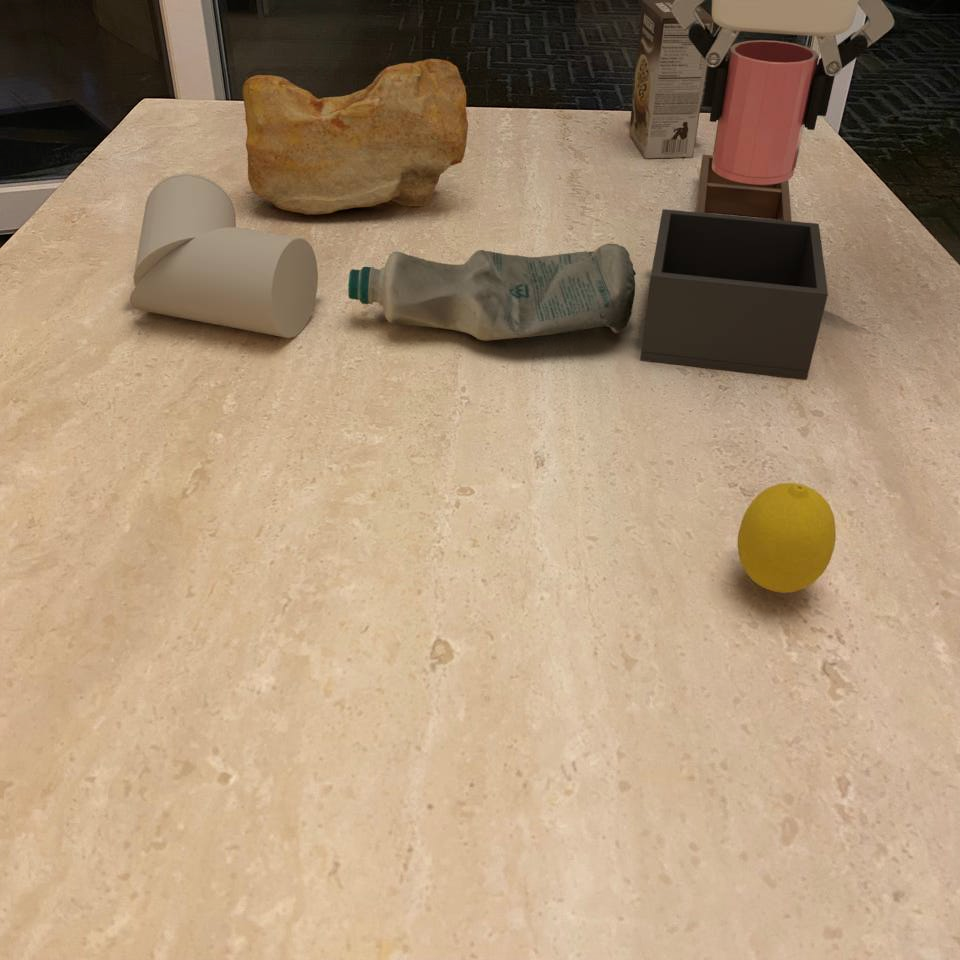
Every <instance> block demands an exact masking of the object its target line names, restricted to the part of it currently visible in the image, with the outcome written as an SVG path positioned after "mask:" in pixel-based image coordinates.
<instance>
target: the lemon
mask: <svg viewBox="0 0 960 960" xmlns="http://www.w3.org/2000/svg"><path fill="white" fill-rule="evenodd" d="M835 519H836V518H835V515H834V513H833V510H832V508H831V506H830V504H829V502H828V501H827V499H826V498H824V496H823V495H822V494H820V493H819V492H818V491H817V490H816V489H814V488H812V487H810V486H808V485H804V484H802V483H798V482H783V483H777V484H774V485H771V486H769V487H767V488H766V489H764V490H763V491H761V492H760V493H758V494H757V495H756V496H755V498H754V499H753V500H752V502H751V503H750V504H749V505H748V507H747V508H746V511H745V512H744V514H743V517H742V519H741V522H740V526H739V529H738V532H737V533H738V534H737V553H738V558H739V561H740V564H741V565H742V568H743V570H744V572H745V574H746V575H748V577H749V578H750V579H751V580H752V581H753V582H754V583H756V584H757V585H758V586H760V587H762V588H763V589H766V590H767V591H772V592H775V593H786V594H787V593H793V592H798V591H801V590H804V589H806V588H807V587H809V586H812V584H814V583H815V582H816V581H817V580H818V579H820V577H821V576H822V575H823V574H824V572H825V571H826V570H827V568H828V566H829V565H830V561H831V559H832V557H833V554H834V550H835V546H836V534H837V533H836V531H837V530H836V520H835Z"/></svg>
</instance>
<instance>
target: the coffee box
mask: <svg viewBox="0 0 960 960" xmlns="http://www.w3.org/2000/svg"><path fill="white" fill-rule="evenodd" d="M674 1H675V0H641V9H640V18H639V29H638V37H637V39H638V40H637V50H636V59H635V71H634V72H635V73H634V80H633V91H632V99H631V100H632V101H631V112H630V121H629V122H630V123H629V130H628V131H629V132H628V134H629V136H630V135H631V136H630V138H631V139H632V138H633V139H632V140H633V142H634V144H635V145H636V146H637V148H638V150H639V151H640V153H641V154H642V155H643V157H644V159H675V158H676V159H678V158H682V157H686V158H693V157H694V154H695V146H696V141H697V140H696V139H697V134H698V126H699V121H700V114H701V107H702V102H703V96H704V90H705V83H706V77H707V70H708V65H707V64H706V61H705V59H704V58H703V56H702V55H701V54H700V52H699V51H698V50H697V49H696V47H695V46H694V45H693V43H692V42H691V41H690V39H689V36H688V35H687V34H686V32H685V31H684V30H683V28H682V27H681V26H680V24H679V23H678V21H677V20H676V18H675V17H674V16H673V14H672V12H671V9H672V5H673V2H674ZM695 11H696V13H697V15H698V17H699V18H700V20H701V21H702V22H703V23H704V24H705V25H706V27H707V28H708V29H709V31H710V32H711V33H712V34H713V28H714V23H715V22H714V21H713V18H712V14H710V13H709V12H708V11H706V10H705V9H704V8H703V7H702V6H701V5H699V6H697V8H696V9H695Z"/></svg>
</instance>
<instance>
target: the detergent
mask: <svg viewBox="0 0 960 960" xmlns="http://www.w3.org/2000/svg"><path fill="white" fill-rule="evenodd" d="M630 255H631V254H630V252H629V251H628V250H627V248H626V247H625V246H623V245H619V244H618V243H605V244H603V245H601V246H599V247H598V248H596V249H595V250H594V251H585V250H584V251H576V252H569V253H559V254H551V255H544V256H542V255H541V256H530V257H529V256H525V255H518V254H517V255H516V254H505V253H502V252H501V253H500V252H496V251H490V250H483V249H479V250H476V251H475V252H474V253H472V254H471V255H470V257H469V258H468V259H467V260H466V261H465V262H464V263H461V264H451V263H443V262H437V261H433V260H427V259H425V258H421V257H416V256H413V255H409V254H407V253H404V252H401V251H397V250H396V251H391V253H389V255H388V258H387V260H386V262H385V265H384V266H383V267H381V268H380V269H378V268H375V267H374V266H362V268H361V269H354V268H352V269H351V270H350V271H349V275H348V285H347V287H348V288H347V293H348V294H347V295H348V298H349V299H351V300H355V301H359V302H360V303H361V304H363V305H373V303H378V304H379V305H380V306H381V307H382V310H383V314H384V317H385V319H386V320H387V322H388V323H390V324H392V325H393V326H394V325H395V326H412V327H424V328H425V327H426V328H437V329H444V330H453V331H458V332H462V333H465V334H467V335H471V336H472V337H474V338H476V340H480V341H486V342H487V341H495V340H507V339H515V338H516V339H517V338H518V339H522V338H529V337H538V336H548V335H555V334H556V335H557V334H562V333H567V332H568V333H569V332H574V331H581V330H587V329H594V328H602V327H607V328H610V330H611V331H612V332H613V333H614V334H618V333H620V332H622V330H624V329H625V328H627V326H628V324H629V321H630V318H631V316H632V311H633V306H634V300H635V295H636V278H635V276H636V274H637V273H636V271H635V269H634V263H633V261H632V260H631V257H630Z"/></svg>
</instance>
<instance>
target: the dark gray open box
mask: <svg viewBox="0 0 960 960" xmlns="http://www.w3.org/2000/svg"><path fill="white" fill-rule="evenodd" d="M661 210H662V211H661V217H660V221H659V228H658V234H657V239H656V245H655V250H654V254H653V255H654V256H653V262H652V267H651V272H650V278H649V279H650V280H649V285H648V286H649V287H648V288H649V289H648V295H647V302H646V303H647V305H646V311H645V319H644V328H643V335H642V342H641V352H640V361H645V362H654V363H661V364H662V363H664V364H671V365H681V366H688V367H697V368H706V369H712V370H713V369H715V370H722V371H729V372H730V371H731V372H738V373H739V372H740V373H749V374H757V375H764V376H765V375H766V376H772V377H782V378H788V379H789V378H791V379H798V380H807V379H808V376H809V373H810V372H809V371H810V369H811V365H812V360H813V358H814V357H813V356H814V352H815V350H816V344H817V340H818V336H819V333H820V332H819V331H820V328H821V324H822V320H823V316H824V312H825V308H826V304H827V299H828V295H829V292H828V284H827V283H828V282H827V275H826V269H825V259H824V254H823V253H824V252H823V246H822V245H823V244H822V237H821V231H820V230H821V229H820V223H816V222H807V221H806V222H804V221H796V220H795V221H793V220H792V221H784V220H777V219H775V218H764V217H753V216H742V215H732V214H721V213H710V212H704V213H698V212H695V211H687V210H676V209H667V208H666V209H665V208H664V209H661Z"/></svg>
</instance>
